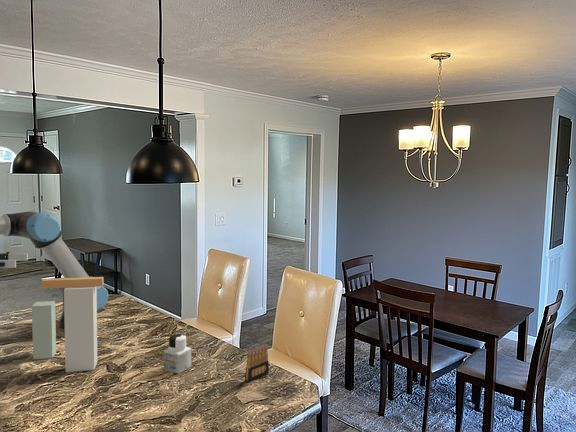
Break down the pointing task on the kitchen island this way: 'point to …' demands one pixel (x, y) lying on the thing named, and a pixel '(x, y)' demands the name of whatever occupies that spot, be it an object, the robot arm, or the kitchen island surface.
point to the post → (80, 328)
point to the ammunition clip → (257, 363)
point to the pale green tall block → (44, 330)
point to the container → (177, 354)
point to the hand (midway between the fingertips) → (22, 260)
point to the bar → (72, 282)
